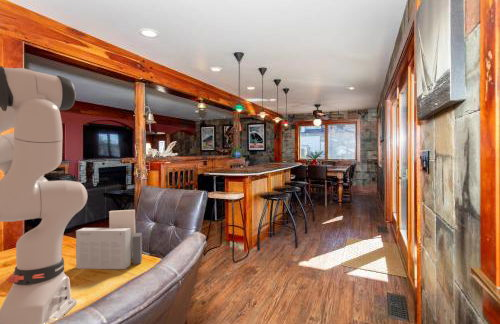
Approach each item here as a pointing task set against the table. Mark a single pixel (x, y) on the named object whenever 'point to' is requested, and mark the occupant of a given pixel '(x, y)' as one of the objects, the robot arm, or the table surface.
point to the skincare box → (103, 248)
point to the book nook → (128, 221)
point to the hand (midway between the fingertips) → (45, 200)
